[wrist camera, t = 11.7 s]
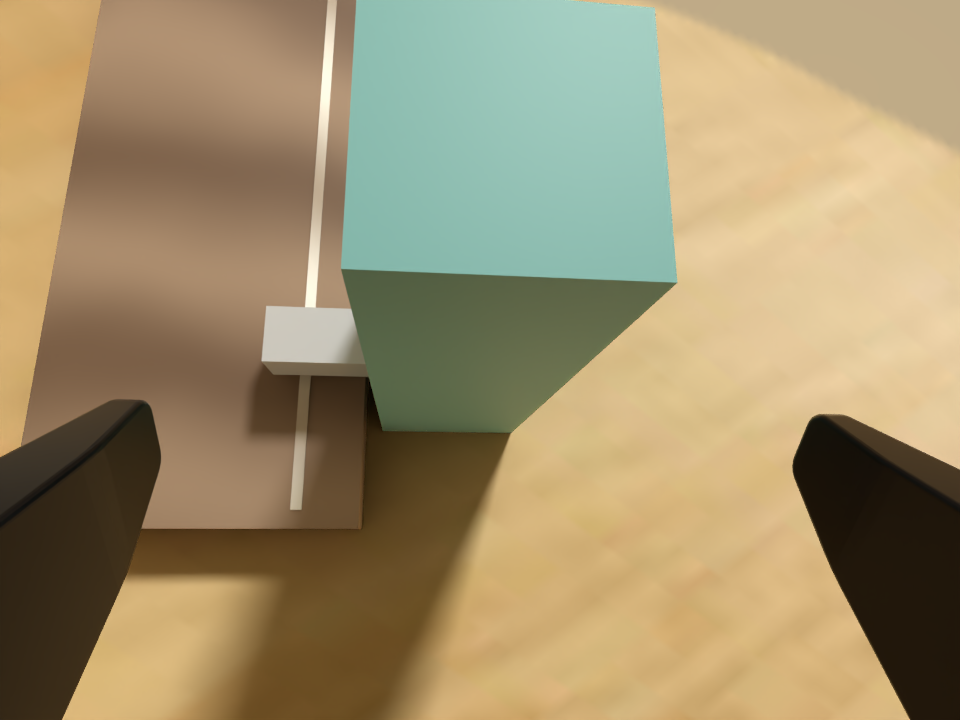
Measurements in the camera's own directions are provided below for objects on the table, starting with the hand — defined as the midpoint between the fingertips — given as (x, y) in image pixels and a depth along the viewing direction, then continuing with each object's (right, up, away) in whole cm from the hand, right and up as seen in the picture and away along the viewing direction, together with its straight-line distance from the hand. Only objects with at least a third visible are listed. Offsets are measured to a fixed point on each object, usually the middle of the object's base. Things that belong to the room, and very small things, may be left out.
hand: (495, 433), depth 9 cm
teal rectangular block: (-3, +1, +12) cm, 12 cm away
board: (-8, +6, +12) cm, 16 cm away
